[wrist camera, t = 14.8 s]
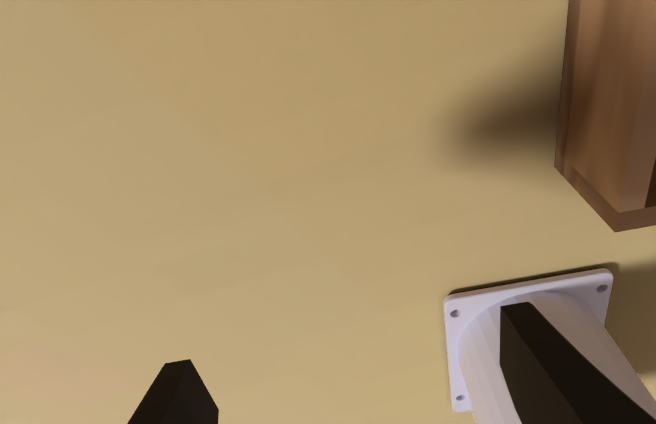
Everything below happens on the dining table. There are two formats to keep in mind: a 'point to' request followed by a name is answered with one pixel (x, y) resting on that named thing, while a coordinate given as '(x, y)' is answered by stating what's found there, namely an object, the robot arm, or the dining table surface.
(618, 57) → the brown wooden open box
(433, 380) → the dining table surface
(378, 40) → the dining table surface
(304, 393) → the dining table surface
